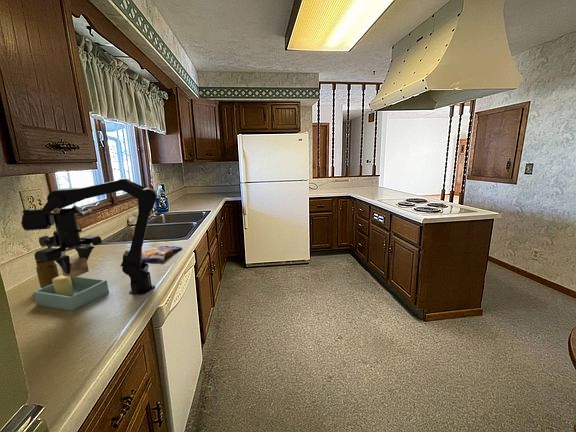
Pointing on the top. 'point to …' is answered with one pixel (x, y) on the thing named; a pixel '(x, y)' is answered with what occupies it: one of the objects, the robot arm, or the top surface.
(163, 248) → the food package
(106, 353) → the top surface
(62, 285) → the yellow teardrop shape
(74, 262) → the walnut cube
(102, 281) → the tote
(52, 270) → the condiment
